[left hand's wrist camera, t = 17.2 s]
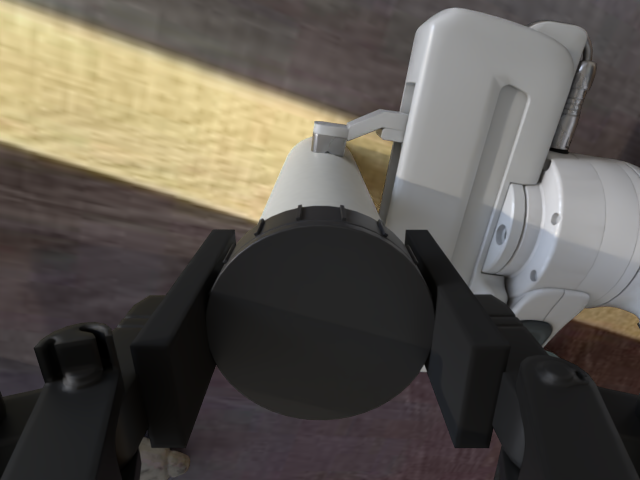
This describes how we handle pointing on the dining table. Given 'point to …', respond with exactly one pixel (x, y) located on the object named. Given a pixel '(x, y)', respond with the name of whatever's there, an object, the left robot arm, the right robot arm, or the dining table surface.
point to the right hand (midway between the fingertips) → (304, 195)
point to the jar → (319, 183)
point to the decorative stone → (161, 462)
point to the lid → (320, 314)
